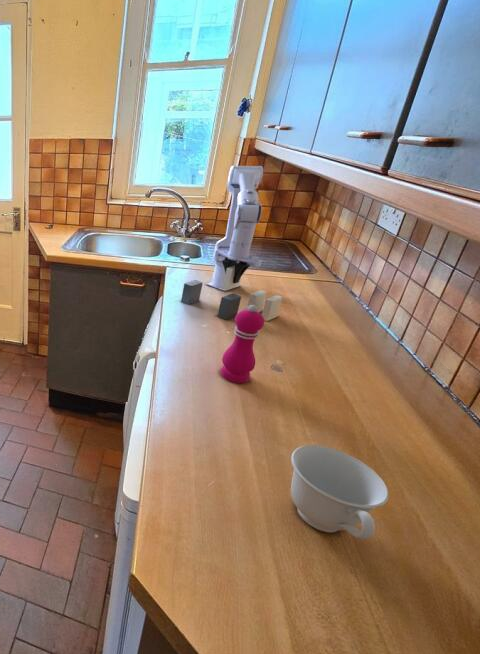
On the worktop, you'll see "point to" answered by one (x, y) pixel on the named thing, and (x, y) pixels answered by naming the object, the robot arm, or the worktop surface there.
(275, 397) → the worktop surface
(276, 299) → the white book
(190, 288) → the grey book
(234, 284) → the white thin book
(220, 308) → the grey book
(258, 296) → the white book
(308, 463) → the teacup
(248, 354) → the pepper mill
